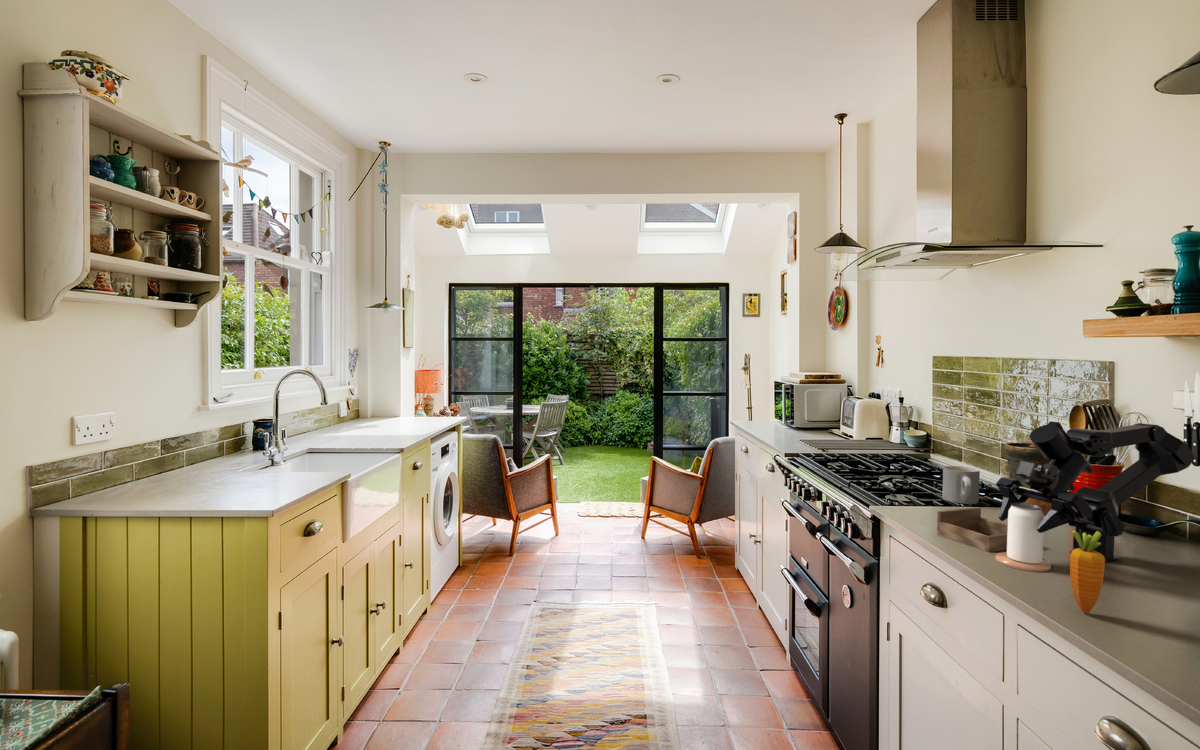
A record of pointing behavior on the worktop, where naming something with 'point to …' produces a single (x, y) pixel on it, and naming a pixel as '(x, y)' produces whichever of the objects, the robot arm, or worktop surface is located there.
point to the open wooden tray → (972, 529)
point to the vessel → (1026, 454)
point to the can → (1025, 533)
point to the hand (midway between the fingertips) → (1018, 525)
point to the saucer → (1008, 562)
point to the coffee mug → (961, 484)
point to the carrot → (1087, 571)
